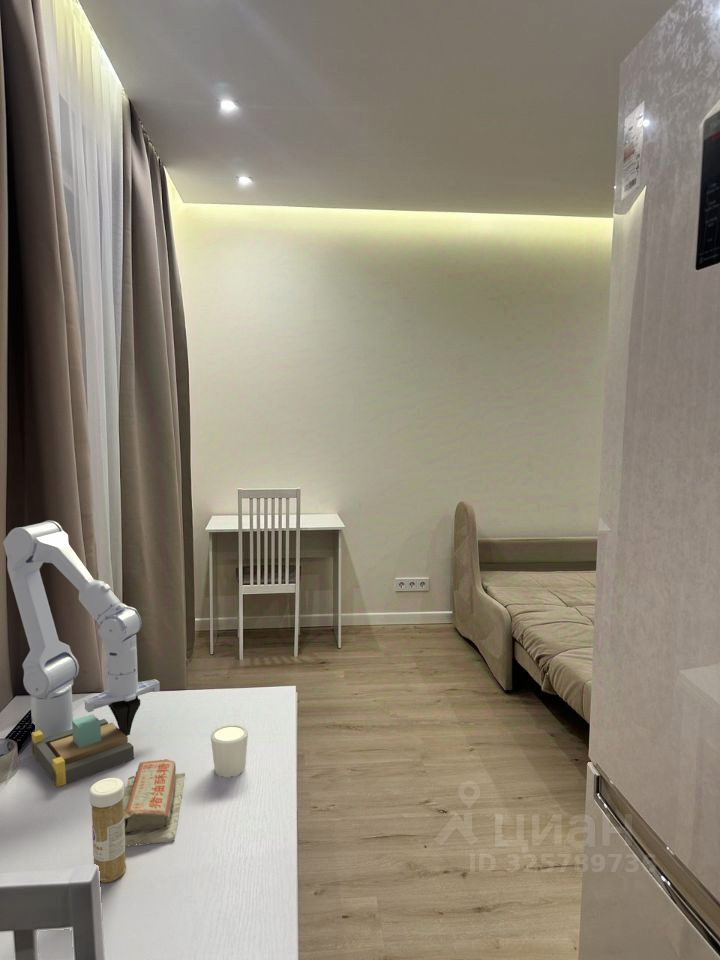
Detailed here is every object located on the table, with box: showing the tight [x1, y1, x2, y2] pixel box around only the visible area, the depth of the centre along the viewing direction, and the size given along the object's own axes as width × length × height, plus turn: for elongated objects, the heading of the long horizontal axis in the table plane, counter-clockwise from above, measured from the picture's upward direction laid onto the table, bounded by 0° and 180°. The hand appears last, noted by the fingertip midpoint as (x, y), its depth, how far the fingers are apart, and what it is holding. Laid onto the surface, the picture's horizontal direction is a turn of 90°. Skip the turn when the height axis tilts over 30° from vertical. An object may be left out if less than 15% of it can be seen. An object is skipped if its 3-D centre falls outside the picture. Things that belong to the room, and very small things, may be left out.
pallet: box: [50, 722, 129, 765], centre depth 123 cm, size 8×12×3 cm, turn 132°
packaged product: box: [123, 758, 186, 847], centre depth 106 cm, size 18×5×10 cm
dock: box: [31, 718, 135, 788], centre depth 122 cm, size 15×14×4 cm
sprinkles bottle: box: [89, 777, 127, 883], centre depth 91 cm, size 5×5×14 cm
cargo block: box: [72, 713, 101, 748], centre depth 123 cm, size 4×4×4 cm
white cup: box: [210, 724, 249, 778], centre depth 118 cm, size 7×7×7 cm
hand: (124, 733), depth 128 cm, fingers closed
